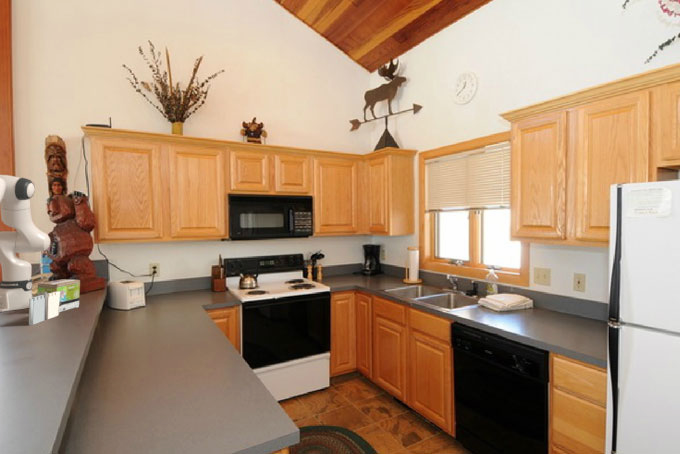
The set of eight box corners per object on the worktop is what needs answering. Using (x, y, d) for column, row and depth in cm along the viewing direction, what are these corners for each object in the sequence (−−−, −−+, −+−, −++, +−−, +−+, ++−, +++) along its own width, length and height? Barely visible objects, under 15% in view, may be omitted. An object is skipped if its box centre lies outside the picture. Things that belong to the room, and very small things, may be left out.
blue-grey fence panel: (41, 320, 157) (42, 294, 157) (44, 320, 157) (44, 294, 157) (28, 325, 149) (28, 298, 149) (31, 325, 149) (31, 298, 149)
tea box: (56, 314, 170) (56, 283, 170) (35, 314, 170) (36, 283, 170) (79, 307, 185) (80, 279, 185) (61, 306, 185) (61, 278, 185)
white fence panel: (42, 320, 157) (42, 292, 157) (56, 315, 167) (57, 288, 167) (45, 320, 158) (45, 292, 158) (59, 315, 167) (60, 288, 167)
